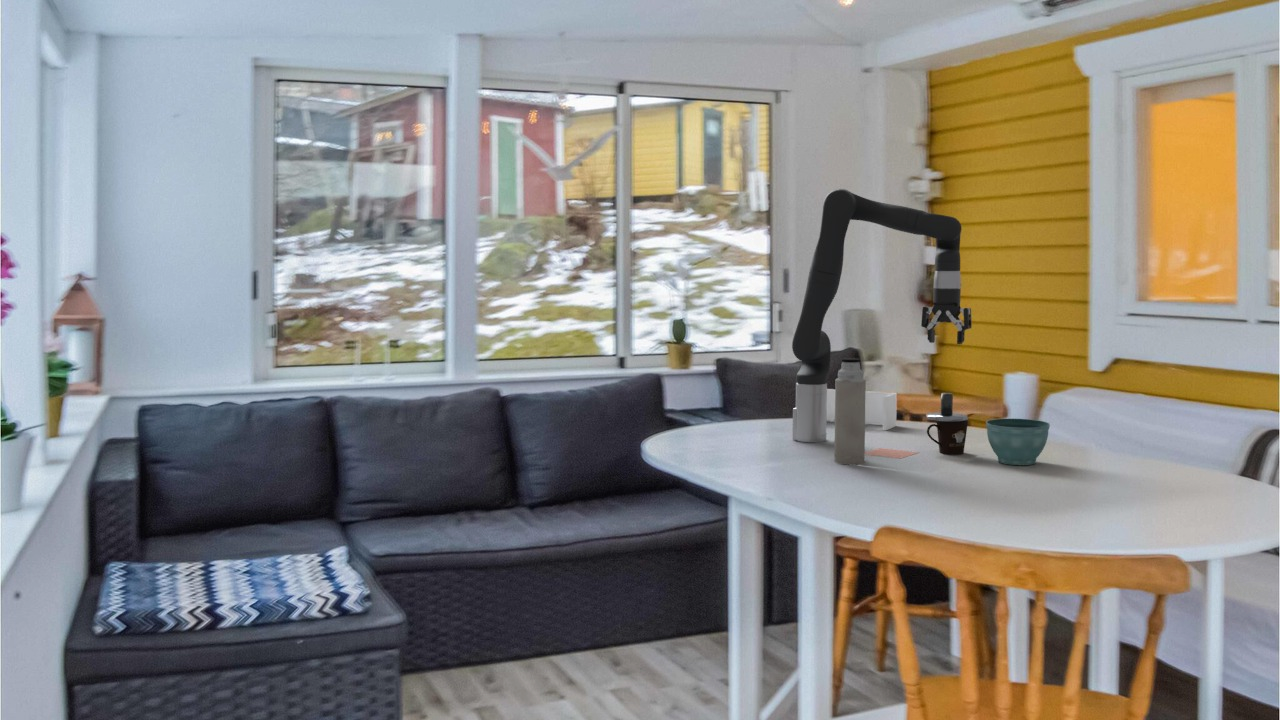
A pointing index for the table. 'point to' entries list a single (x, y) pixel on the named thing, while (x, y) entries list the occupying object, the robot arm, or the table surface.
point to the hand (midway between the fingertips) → (945, 343)
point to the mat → (890, 453)
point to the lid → (946, 411)
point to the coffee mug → (950, 436)
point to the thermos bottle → (850, 413)
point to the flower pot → (1017, 439)
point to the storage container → (871, 408)
